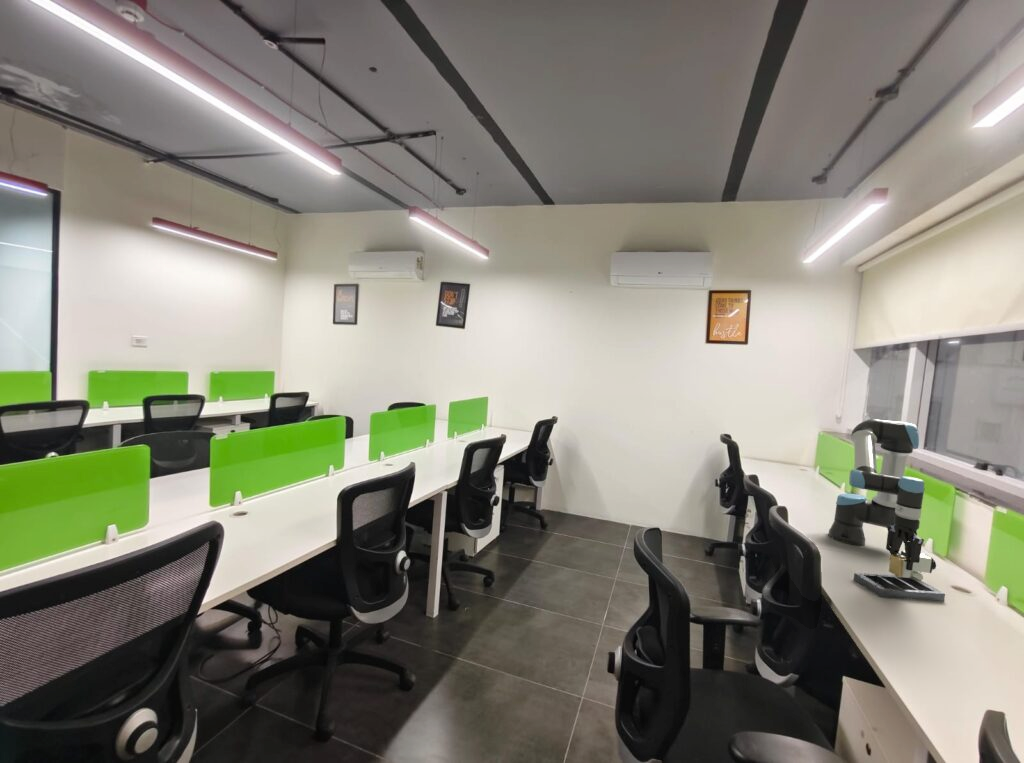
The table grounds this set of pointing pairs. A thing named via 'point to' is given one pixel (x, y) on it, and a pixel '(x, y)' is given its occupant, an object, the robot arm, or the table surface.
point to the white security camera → (922, 565)
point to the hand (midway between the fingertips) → (899, 573)
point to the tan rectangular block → (896, 564)
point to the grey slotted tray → (898, 587)
